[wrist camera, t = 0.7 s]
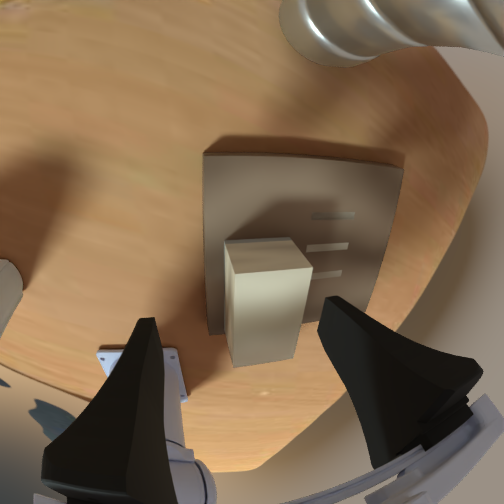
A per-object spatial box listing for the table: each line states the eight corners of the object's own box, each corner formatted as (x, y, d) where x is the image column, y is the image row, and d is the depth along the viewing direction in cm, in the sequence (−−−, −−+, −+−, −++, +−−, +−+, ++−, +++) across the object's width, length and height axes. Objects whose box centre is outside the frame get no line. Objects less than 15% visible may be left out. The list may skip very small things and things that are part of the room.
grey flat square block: (358, 302, 26) (365, 311, 25) (207, 323, 23) (209, 335, 22) (392, 164, 20) (404, 169, 18) (202, 152, 16) (204, 156, 15)
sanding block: (277, 323, 23) (293, 358, 19) (224, 329, 22) (233, 367, 18) (289, 237, 19) (312, 267, 16) (224, 240, 18) (234, 274, 15)
